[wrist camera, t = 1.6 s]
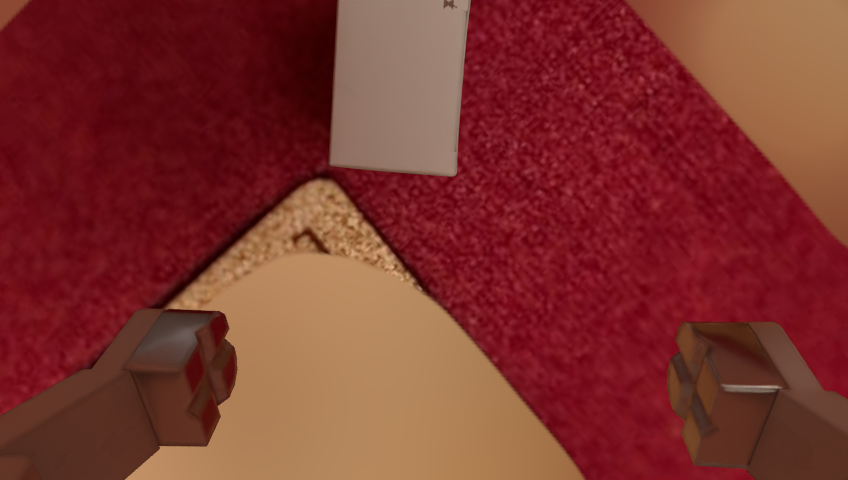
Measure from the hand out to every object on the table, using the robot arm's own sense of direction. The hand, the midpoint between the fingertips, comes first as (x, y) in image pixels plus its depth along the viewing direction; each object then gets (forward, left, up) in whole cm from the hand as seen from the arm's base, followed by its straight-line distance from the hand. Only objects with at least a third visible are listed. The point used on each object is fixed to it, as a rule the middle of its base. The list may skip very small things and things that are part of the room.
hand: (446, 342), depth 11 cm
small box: (-4, +6, -26) cm, 27 cm away
